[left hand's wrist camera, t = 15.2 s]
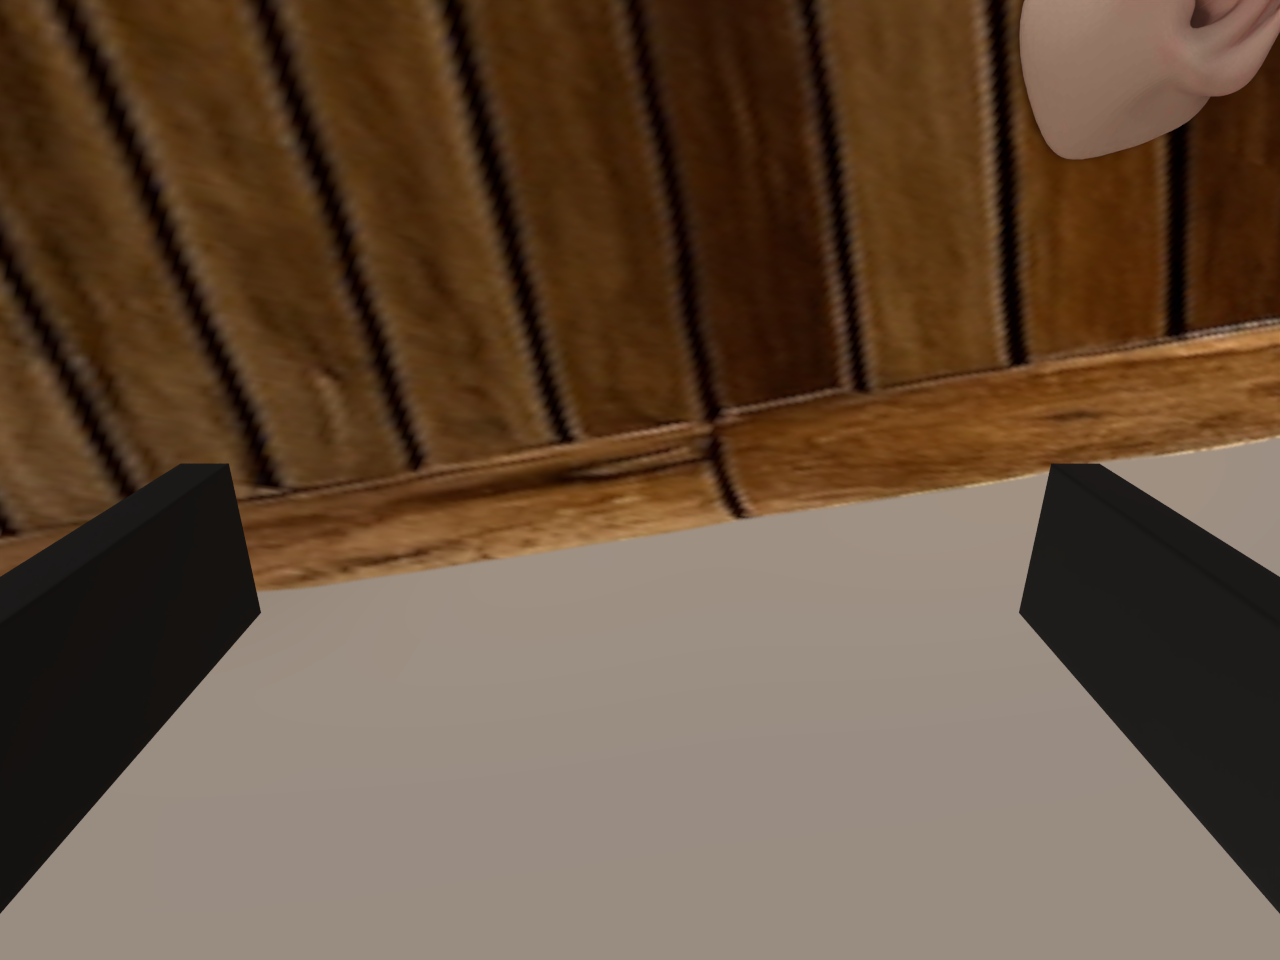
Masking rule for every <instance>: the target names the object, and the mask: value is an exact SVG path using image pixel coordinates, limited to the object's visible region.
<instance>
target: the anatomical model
mask: <svg viewBox="0 0 1280 960" xmlns="http://www.w3.org/2000/svg"><path fill="white" fill-rule="evenodd" d="M1279 32H1280V0H1024V3H1023V8H1022V14H1021V20H1020V57H1021V63H1022V70H1023V76H1024V81H1025V85H1026V89H1027V93H1028V97H1029V101H1030V104H1031V107H1032V110H1033V113H1034V116H1035V119H1036V122H1037V124H1038V126H1039V129H1040V131H1041V133H1042V135H1043V137H1044V139H1045V141H1046V143H1047V144H1048V145H1049V147H1050V148H1051V149H1052V150H1053V151H1054V152H1055V153H1056V154H1058V155H1059V156H1061V157H1063V158H1067V159H1086V158H1092V157H1098V156H1102V155H1106V154H1109V153H1113V152H1116V151H1120V150H1124V149H1127V148H1131V147H1134V146H1137V145H1140V144H1143V143H1145V142H1148V141H1150V140H1152V139H1154V138H1157V137H1159V136H1161V135H1163V134H1165V133H1168V132H1170V131H1172V130H1174V129H1176V128H1178V127H1180V126H1181V125H1183V124H1184V123H1186V122H1188V121H1189V120H1190V119H1191V118H1192V117H1194V116H1195V115H1196V114H1197V113H1198V112H1199V111H1200V110H1201V109H1202V107H1203V106H1204V105H1205V104H1206V102H1207V101H1208V100H1209V98H1210V97H1211V96H1224V95H1228V94H1231V93H1233V92H1235V91H1238V90H1239V89H1241V88H1242V87H1244V86H1245V85H1246V84H1248V83H1249V82H1250V80H1251V79H1252V78H1253V77H1254V76H1255V74H1256V73H1257V71H1258V70H1259V68H1260V67H1261V65H1262V64H1263V62H1264V60H1265V58H1266V56H1267V54H1268V52H1269V51H1270V49H1271V47H1272V45H1273V43H1274V41H1275V40H1276V38H1277V36H1278V34H1279Z"/></svg>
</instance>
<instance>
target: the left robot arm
mask: <svg viewBox="0 0 1280 960" xmlns="http://www.w3.org/2000/svg"><path fill="white" fill-rule="evenodd" d="M260 613H261V611H260V606H259V601H258V597H257V592H256V587H255V583H254V578H253V574H252V569H251V564H250V560H249V555H248V550H247V546H246V541H245V537H244V532H243V527H242V523H241V518H240V514H239V509H238V504H237V500H236V495H235V490H234V486H233V481H232V477H231V472H230V467H229V464H179V465H178V466H176V467H175V468H173V469H171V470H170V471H168V472H167V473H165V474H163V475H162V476H160V477H159V478H157V479H156V480H154V481H152V482H151V483H149V484H148V485H146V486H144V487H143V488H141V489H140V490H138V491H136V492H135V493H133V494H132V495H130V496H128V497H127V498H125V499H124V500H122V501H120V502H119V503H117V504H116V505H114V506H113V507H111V508H109V509H108V510H106V511H105V512H103V513H101V514H100V515H98V516H97V517H95V518H93V519H92V520H90V521H89V522H87V523H85V524H84V525H82V526H81V527H79V528H77V529H76V530H74V531H73V532H71V533H70V534H68V535H66V536H65V537H63V538H62V539H60V540H58V541H57V542H55V543H54V544H52V545H50V546H49V547H47V548H46V549H44V550H42V551H41V552H39V553H38V554H36V555H34V556H33V557H31V558H30V559H28V560H27V561H25V562H23V563H22V564H20V565H19V566H17V567H15V568H14V569H12V570H11V571H9V572H7V573H6V574H4V575H3V576H1V577H0V913H1V912H2V911H3V910H4V909H5V907H6V906H7V905H8V904H9V903H10V902H11V901H12V899H13V898H14V897H15V896H16V895H17V894H18V892H19V891H20V890H21V889H22V888H23V887H24V886H25V884H26V883H27V882H28V881H29V880H30V879H31V877H32V876H33V875H34V874H35V873H36V872H37V871H38V869H39V868H40V867H41V866H42V865H43V864H44V862H45V861H46V860H47V859H48V858H49V857H50V855H51V854H52V853H53V852H54V851H55V850H56V849H57V847H58V846H59V845H60V844H61V843H62V842H63V841H64V839H65V838H66V837H67V836H68V835H69V834H70V832H71V831H72V830H73V829H74V828H75V827H76V826H77V824H78V823H79V822H80V821H81V820H82V819H83V817H84V816H85V815H86V814H87V813H88V812H89V811H90V809H91V808H92V807H93V806H94V805H95V804H96V802H97V801H98V800H99V799H100V798H101V797H102V796H103V794H104V793H105V792H106V791H107V790H108V789H109V787H110V786H111V785H112V784H113V783H114V782H115V781H116V779H117V778H118V777H119V776H120V775H121V774H122V772H123V771H124V770H125V769H126V768H127V767H128V766H129V764H130V763H131V762H132V761H133V760H134V759H135V757H136V756H137V755H138V754H139V753H140V752H141V751H142V749H143V748H144V747H145V746H146V745H147V744H148V742H149V741H150V740H151V739H152V738H153V737H154V735H155V734H156V733H157V732H158V731H159V730H160V729H161V727H162V726H163V725H164V724H165V723H166V722H167V721H168V719H169V718H170V717H171V716H172V715H173V714H174V712H175V711H176V710H177V709H178V708H179V707H180V705H181V704H182V703H183V702H184V701H185V700H186V699H187V697H188V696H189V695H190V694H191V693H192V692H193V690H194V689H195V688H196V687H197V686H198V685H199V684H200V682H201V681H202V680H203V679H204V678H205V677H206V676H207V674H208V673H209V672H210V671H211V670H212V669H213V667H214V666H215V665H216V664H217V663H218V662H219V661H220V659H221V658H222V657H223V656H224V655H225V654H226V652H227V651H228V650H229V649H230V648H231V647H232V646H233V644H234V643H235V642H236V641H237V640H238V639H239V637H240V636H241V635H242V634H243V633H244V632H245V631H246V629H247V628H248V627H249V626H250V625H251V624H252V622H253V621H254V620H255V619H256V618H257V617H258V615H259V614H260ZM1019 613H1020V614H1021V616H1022V617H1023V618H1024V619H1025V620H1026V621H1027V622H1028V624H1029V625H1030V626H1031V627H1032V628H1033V629H1034V631H1035V632H1036V633H1037V634H1038V635H1039V636H1040V637H1041V639H1042V640H1043V641H1044V642H1045V643H1046V644H1047V646H1048V647H1049V648H1050V649H1051V650H1052V651H1053V652H1054V654H1055V655H1056V656H1057V657H1058V658H1059V659H1060V661H1061V662H1062V663H1063V664H1064V665H1065V666H1066V667H1067V669H1068V670H1069V671H1070V672H1071V673H1072V674H1073V676H1074V677H1075V678H1076V679H1077V680H1078V681H1079V682H1080V684H1081V685H1082V686H1083V687H1084V688H1085V689H1086V691H1087V692H1088V693H1089V694H1090V695H1091V696H1092V697H1093V699H1094V700H1095V701H1096V702H1097V703H1098V704H1099V706H1100V707H1101V708H1102V709H1103V710H1104V711H1105V712H1106V714H1107V715H1108V716H1109V717H1110V718H1111V719H1112V720H1113V722H1114V723H1115V724H1116V725H1117V726H1118V727H1119V729H1120V730H1121V731H1122V732H1123V733H1124V734H1125V735H1126V737H1127V738H1128V739H1129V740H1130V741H1131V742H1132V744H1133V745H1134V746H1135V747H1136V748H1137V749H1138V751H1139V752H1140V753H1141V754H1142V755H1143V756H1144V757H1145V759H1146V760H1147V761H1148V762H1149V763H1150V764H1151V766H1152V767H1153V768H1154V769H1155V770H1156V771H1157V772H1158V774H1159V775H1160V776H1161V777H1162V778H1163V779H1164V781H1165V782H1166V783H1167V784H1168V785H1169V786H1170V787H1171V789H1172V790H1173V791H1174V792H1175V793H1176V794H1177V796H1178V797H1179V798H1180V799H1181V800H1182V801H1183V802H1184V804H1185V805H1186V806H1187V807H1188V808H1189V809H1190V811H1191V812H1192V813H1193V814H1194V815H1195V816H1196V817H1197V819H1198V820H1199V821H1200V822H1201V823H1202V824H1203V826H1204V827H1205V828H1206V829H1207V830H1208V831H1209V832H1210V834H1211V835H1212V836H1213V837H1214V838H1215V839H1216V841H1217V842H1218V843H1219V844H1220V845H1221V846H1222V847H1223V849H1224V850H1225V851H1226V852H1227V853H1228V854H1229V856H1230V857H1231V858H1232V859H1233V860H1234V861H1235V862H1236V864H1237V865H1238V866H1239V867H1240V868H1241V869H1242V871H1243V872H1244V873H1245V874H1246V875H1247V876H1248V877H1249V879H1250V880H1251V881H1252V882H1253V883H1254V884H1255V886H1256V887H1257V888H1258V889H1259V890H1260V891H1261V892H1262V894H1263V895H1264V896H1265V897H1266V898H1267V899H1268V901H1269V902H1270V903H1271V904H1272V905H1273V906H1274V907H1275V909H1276V910H1277V911H1278V912H1279V913H1280V577H1279V576H1277V575H1276V574H1274V573H1273V572H1271V571H1269V570H1268V569H1266V568H1265V567H1263V566H1261V565H1260V564H1258V563H1257V562H1255V561H1253V560H1252V559H1250V558H1249V557H1247V556H1246V555H1244V554H1242V553H1241V552H1239V551H1238V550H1236V549H1234V548H1233V547H1231V546H1230V545H1228V544H1226V543H1225V542H1223V541H1222V540H1220V539H1218V538H1217V537H1215V536H1214V535H1212V534H1210V533H1209V532H1207V531H1206V530H1204V529H1202V528H1201V527H1199V526H1198V525H1196V524H1195V523H1193V522H1191V521H1190V520H1188V519H1187V518H1185V517H1183V516H1182V515H1180V514H1179V513H1177V512H1175V511H1174V510H1172V509H1171V508H1169V507H1167V506H1166V505H1164V504H1163V503H1161V502H1160V501H1158V500H1156V499H1155V498H1153V497H1151V496H1150V495H1148V494H1147V493H1145V492H1144V491H1142V490H1140V489H1139V488H1137V487H1136V486H1134V485H1132V484H1131V483H1129V482H1128V481H1126V480H1124V479H1123V478H1121V477H1120V476H1118V475H1116V474H1115V473H1113V472H1112V471H1110V470H1109V469H1107V468H1105V467H1104V466H1102V465H1101V464H1051V467H1050V472H1049V477H1048V481H1047V486H1046V490H1045V495H1044V500H1043V504H1042V509H1041V514H1040V518H1039V523H1038V527H1037V532H1036V537H1035V541H1034V546H1033V551H1032V555H1031V560H1030V564H1029V569H1028V574H1027V578H1026V583H1025V587H1024V592H1023V597H1022V601H1021V606H1020V611H1019Z"/></svg>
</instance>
